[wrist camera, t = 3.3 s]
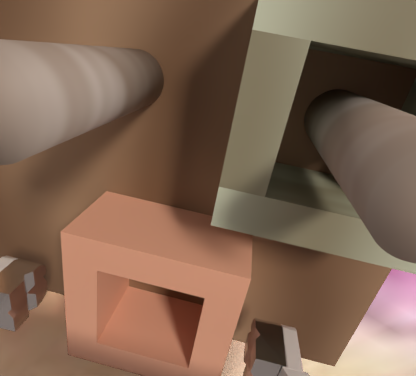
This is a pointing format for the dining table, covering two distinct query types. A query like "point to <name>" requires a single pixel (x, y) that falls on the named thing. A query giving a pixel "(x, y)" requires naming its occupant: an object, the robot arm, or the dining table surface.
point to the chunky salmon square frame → (155, 275)
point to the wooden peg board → (222, 139)
